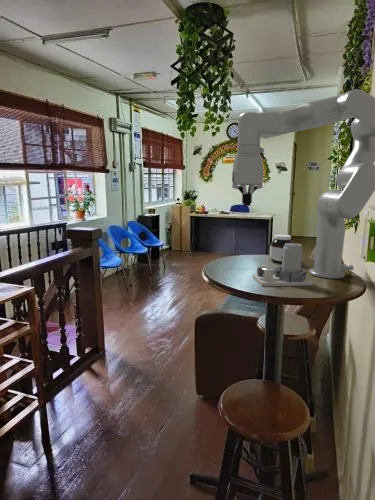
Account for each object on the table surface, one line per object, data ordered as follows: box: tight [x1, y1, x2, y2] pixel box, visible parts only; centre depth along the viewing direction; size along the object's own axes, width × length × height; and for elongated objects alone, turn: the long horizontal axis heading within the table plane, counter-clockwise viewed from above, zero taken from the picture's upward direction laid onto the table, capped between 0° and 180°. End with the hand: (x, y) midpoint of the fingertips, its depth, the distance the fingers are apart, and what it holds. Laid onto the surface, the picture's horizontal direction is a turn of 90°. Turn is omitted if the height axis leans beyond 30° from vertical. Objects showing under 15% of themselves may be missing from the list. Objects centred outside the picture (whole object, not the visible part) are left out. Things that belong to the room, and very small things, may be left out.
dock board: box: [252, 264, 314, 287], centre depth 120 cm, size 18×10×5 cm, turn 97°
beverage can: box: [281, 242, 303, 273], centre depth 119 cm, size 6×6×12 cm
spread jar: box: [269, 234, 293, 265], centre depth 151 cm, size 12×11×12 cm
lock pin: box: [256, 266, 281, 277], centre depth 119 cm, size 8×4×4 cm, turn 97°
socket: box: [275, 265, 308, 282], centre depth 120 cm, size 10×10×3 cm
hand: (246, 205), depth 121 cm, fingers closed
